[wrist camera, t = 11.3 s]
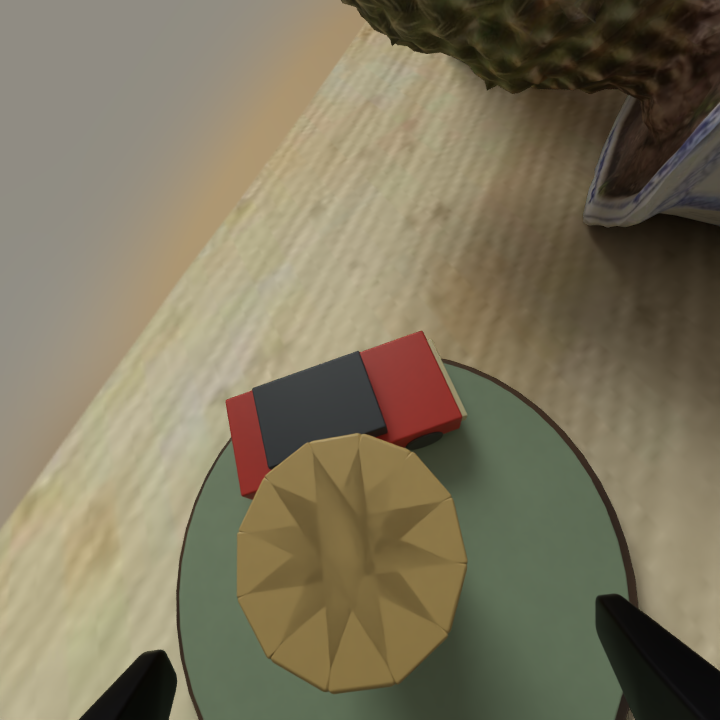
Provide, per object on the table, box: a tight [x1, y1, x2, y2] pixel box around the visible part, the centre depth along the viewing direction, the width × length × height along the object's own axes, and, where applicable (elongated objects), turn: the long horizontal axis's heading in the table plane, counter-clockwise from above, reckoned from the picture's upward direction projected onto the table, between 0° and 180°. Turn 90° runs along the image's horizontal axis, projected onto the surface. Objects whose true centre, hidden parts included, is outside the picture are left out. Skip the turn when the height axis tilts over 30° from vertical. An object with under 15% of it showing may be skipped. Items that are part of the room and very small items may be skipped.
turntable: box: [179, 331, 629, 720], centre depth 12 cm, size 17×17×10 cm
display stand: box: [176, 359, 638, 720], centre depth 17 cm, size 18×18×1 cm
